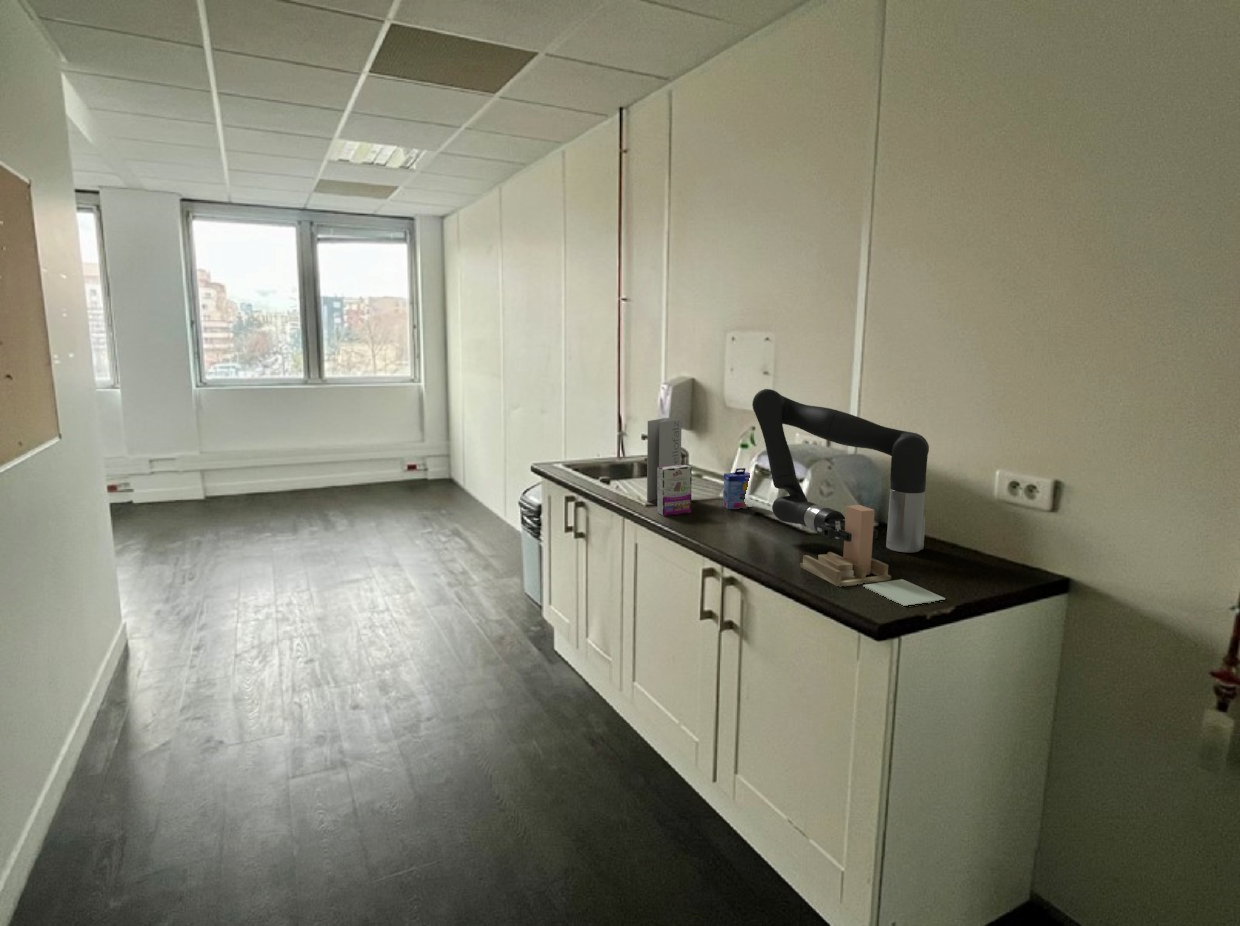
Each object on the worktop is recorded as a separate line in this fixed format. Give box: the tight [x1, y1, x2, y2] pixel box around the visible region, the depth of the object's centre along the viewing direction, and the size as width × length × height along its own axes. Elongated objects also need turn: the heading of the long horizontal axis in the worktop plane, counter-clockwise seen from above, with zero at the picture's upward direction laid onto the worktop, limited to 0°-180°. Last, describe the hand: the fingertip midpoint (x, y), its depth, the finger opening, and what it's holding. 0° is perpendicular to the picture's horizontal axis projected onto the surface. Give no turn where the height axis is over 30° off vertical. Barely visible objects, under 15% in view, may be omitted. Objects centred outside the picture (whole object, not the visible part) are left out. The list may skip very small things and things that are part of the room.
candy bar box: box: [656, 464, 692, 517], centre depth 242 cm, size 11×5×16 cm, turn 114°
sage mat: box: [862, 578, 946, 607], centre depth 167 cm, size 12×14×1 cm
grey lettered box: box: [646, 417, 683, 503], centre depth 261 cm, size 14×6×30 cm, turn 143°
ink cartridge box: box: [722, 467, 751, 510], centre depth 250 cm, size 10×6×14 cm, turn 104°
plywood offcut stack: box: [817, 553, 855, 581], centre depth 180 cm, size 4×11×4 cm, turn 15°
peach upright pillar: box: [842, 504, 875, 576], centre depth 182 cm, size 4×6×17 cm, turn 20°
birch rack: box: [799, 551, 892, 588], centre depth 182 cm, size 16×16×4 cm
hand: (863, 536), depth 180 cm, fingers open, 7 cm apart
